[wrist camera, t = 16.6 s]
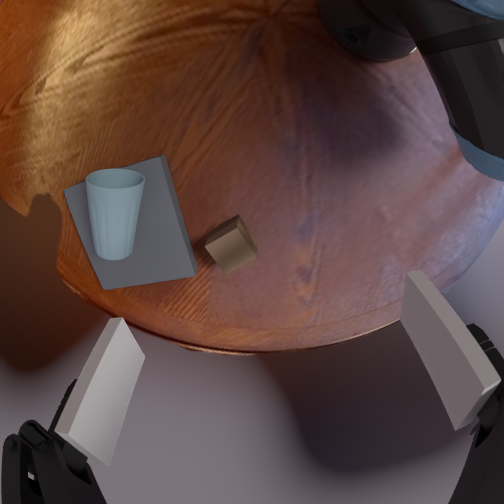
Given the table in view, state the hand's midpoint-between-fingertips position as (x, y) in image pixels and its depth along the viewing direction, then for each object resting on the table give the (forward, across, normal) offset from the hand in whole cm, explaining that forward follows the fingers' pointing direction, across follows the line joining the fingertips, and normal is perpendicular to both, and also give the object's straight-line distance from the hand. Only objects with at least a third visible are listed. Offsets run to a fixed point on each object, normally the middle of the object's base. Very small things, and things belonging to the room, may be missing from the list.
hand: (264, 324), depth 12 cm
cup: (+27, -20, -2) cm, 34 cm away
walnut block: (+29, -5, -8) cm, 30 cm away
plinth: (+29, -20, -3) cm, 35 cm away
